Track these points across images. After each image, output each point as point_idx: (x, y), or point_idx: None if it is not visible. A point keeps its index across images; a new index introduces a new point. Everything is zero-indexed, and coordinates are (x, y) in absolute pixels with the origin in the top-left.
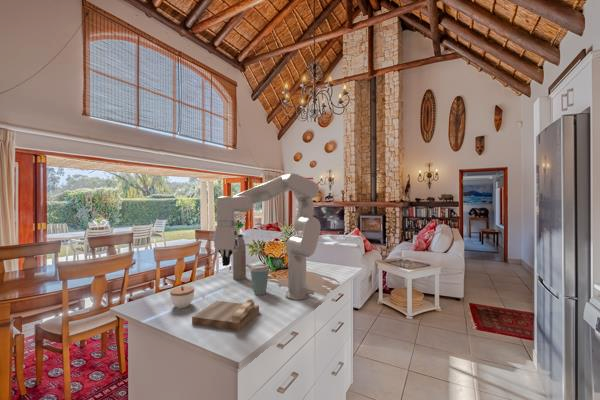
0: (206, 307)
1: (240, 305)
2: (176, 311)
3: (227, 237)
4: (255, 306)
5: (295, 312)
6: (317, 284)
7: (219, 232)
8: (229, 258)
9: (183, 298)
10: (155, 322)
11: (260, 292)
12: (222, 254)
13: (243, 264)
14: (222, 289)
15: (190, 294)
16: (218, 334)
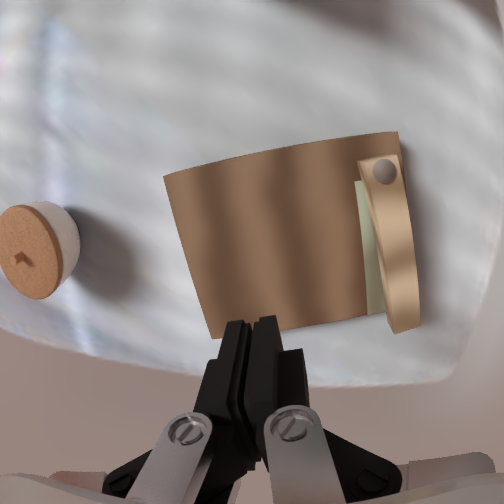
0: (186, 258)
1: (316, 167)
2: (88, 277)
3: None
4: (389, 148)
5: (495, 92)
6: None
7: None
8: (306, 400)
9: (68, 273)
10: (116, 351)
11: None
12: (217, 489)
13: None
14: (59, 32)
15: (63, 248)
16: (350, 335)
